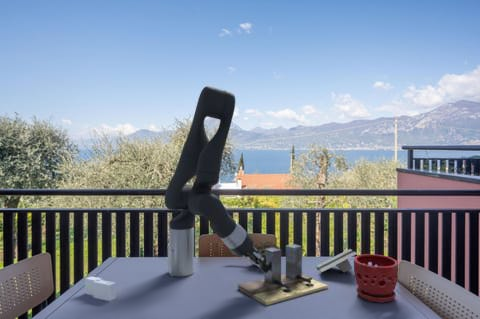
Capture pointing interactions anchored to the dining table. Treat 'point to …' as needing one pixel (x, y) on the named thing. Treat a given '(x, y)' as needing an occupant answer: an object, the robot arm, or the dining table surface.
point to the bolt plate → (289, 292)
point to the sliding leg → (274, 267)
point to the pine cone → (263, 247)
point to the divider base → (289, 278)
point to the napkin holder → (100, 288)
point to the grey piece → (338, 262)
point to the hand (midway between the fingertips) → (266, 270)
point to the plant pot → (376, 277)
